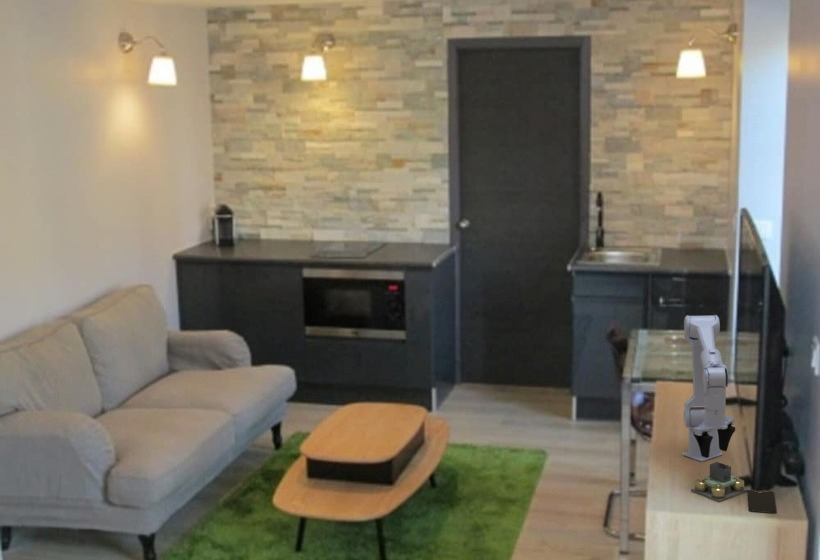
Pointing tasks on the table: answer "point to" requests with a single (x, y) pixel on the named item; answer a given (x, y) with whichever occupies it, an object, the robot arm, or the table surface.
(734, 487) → the chassis
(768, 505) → the smartphone
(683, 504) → the table surface
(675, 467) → the table surface
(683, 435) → the table surface
